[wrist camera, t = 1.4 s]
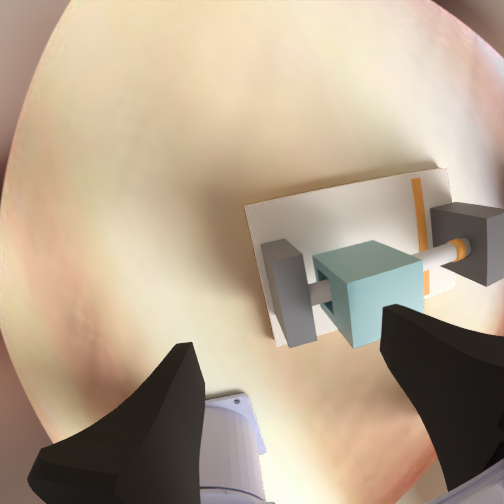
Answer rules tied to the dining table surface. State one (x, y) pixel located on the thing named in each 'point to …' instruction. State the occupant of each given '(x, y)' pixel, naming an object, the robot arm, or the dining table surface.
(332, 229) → the sliding block rail
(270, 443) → the dining table surface
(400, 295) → the sleeve
